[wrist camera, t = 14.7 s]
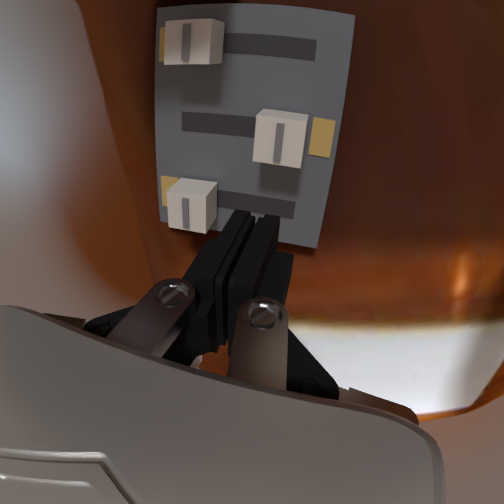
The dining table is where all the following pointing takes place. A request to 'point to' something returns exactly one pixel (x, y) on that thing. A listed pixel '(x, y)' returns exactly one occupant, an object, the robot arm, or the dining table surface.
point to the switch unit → (254, 110)
